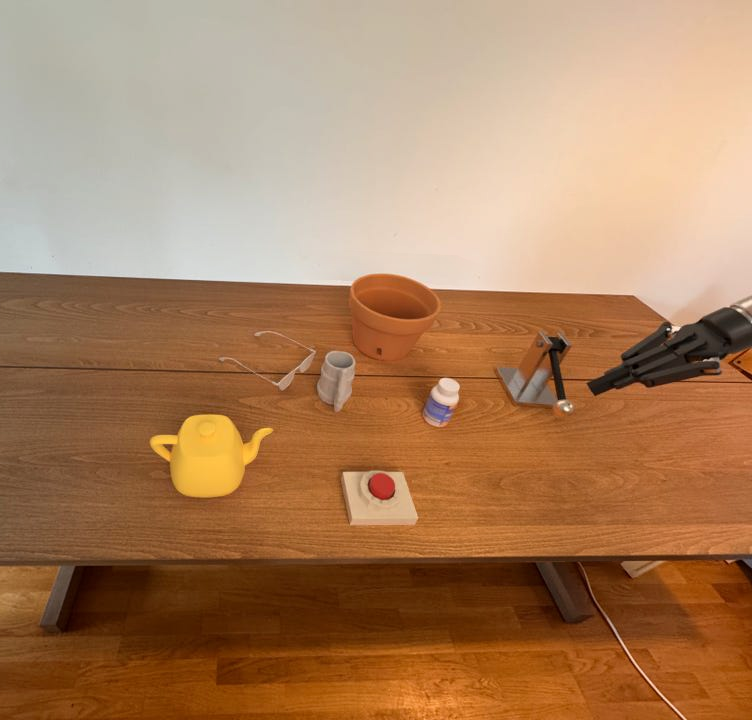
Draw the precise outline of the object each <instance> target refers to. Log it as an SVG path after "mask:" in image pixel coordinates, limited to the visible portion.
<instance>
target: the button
mask: <svg viewBox="0 0 752 720" xmlns="http://www.w3.org/2000/svg"><path fill="white" fill-rule="evenodd" d="M394 489H395V483H394V480H393V479H392V478H391V477H390V476H388V475H387V474H384V473H377V474H375V475H373V476H372V478H371V481H370V484H369V490H370V492H371V493H372V495H373V496H375V497H376V498H378V499H388V498H390V497H391V496H392V494H393V492H394Z"/></svg>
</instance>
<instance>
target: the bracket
mask: <svg viewBox="0 0 752 720" xmlns="http://www.w3.org/2000/svg"><path fill="white" fill-rule="evenodd" d="M548 337H549V336H548V335H547V334H546V333H545V332H544V331H540V330H539V331H538V332H537V334H536V336H535V338H534V340H533V342H531V345H530V346H529V348H528V350H527V352H526V354H525V355H524V357H523V359H522V360H521V363H520V364H519V366H518V367H505V366H504V367H503V366H495V368H494V373H495V375H496V377H497V378H498V380H499V382H500V384H501V386H502V388H503V390H504V391H505V393H506V395H507V396H508V398H509V401H510V402H511V404H512V406H513V407H525V408H536V409H548V410H549V409H551V410H553V405H554V403H555V402H556V401H558V399H557V396H556V395H555V394H554V392H553V391H552V390H551V388H550V387H549V385H548V384H549V382H550V381H551V379H552V378H553V373H552V367H551V362H550V357H549V353H548V351H549V350H550V348H551V346H552V345H553V343H552V342H551V341H550V339H549V338H548ZM555 337H559V341H560V346H561V349H560V350H559V351H557V355H558V361H559V366H561V364H562V362H563V361H564V360H565V358H566V356H567V354H568V353H569V351H570V350H571V348H572V347H573V344H572V343H571V342H570V341H569V340H568V338H567V337H566V336H565V334H563V332H557V333H556V335H555Z"/></svg>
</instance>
